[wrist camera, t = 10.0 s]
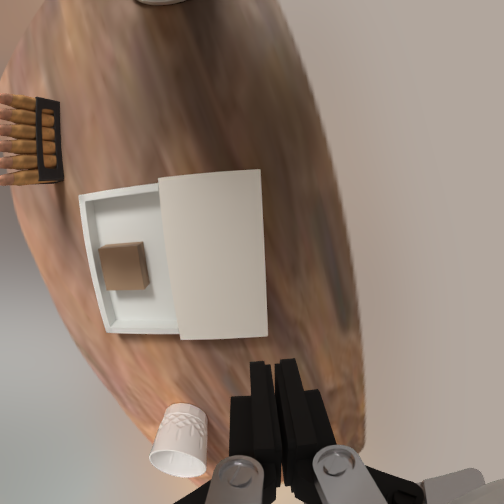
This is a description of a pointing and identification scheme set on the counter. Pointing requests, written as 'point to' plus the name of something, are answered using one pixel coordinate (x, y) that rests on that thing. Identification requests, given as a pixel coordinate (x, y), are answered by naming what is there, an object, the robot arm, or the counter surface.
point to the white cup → (181, 442)
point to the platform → (216, 253)
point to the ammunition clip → (31, 140)
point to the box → (151, 233)
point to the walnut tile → (124, 266)
